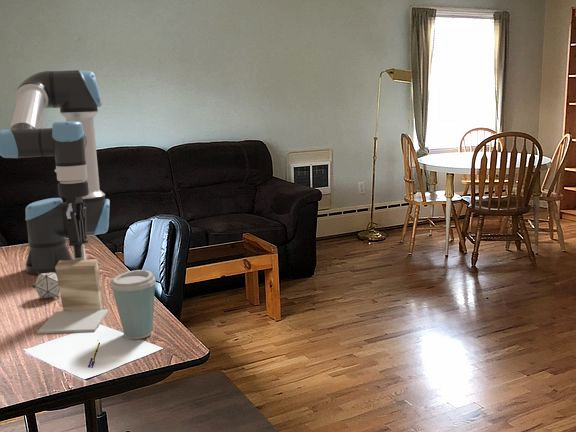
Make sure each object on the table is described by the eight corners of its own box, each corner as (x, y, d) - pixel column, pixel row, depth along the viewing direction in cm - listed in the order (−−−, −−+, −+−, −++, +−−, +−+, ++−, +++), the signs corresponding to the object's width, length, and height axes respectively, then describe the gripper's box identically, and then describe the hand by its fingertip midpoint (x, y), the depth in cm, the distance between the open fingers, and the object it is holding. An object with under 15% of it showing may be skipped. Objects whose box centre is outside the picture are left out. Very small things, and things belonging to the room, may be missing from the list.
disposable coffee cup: (139, 346, 144) (134, 284, 141) (105, 338, 149) (99, 278, 146) (168, 330, 153) (164, 272, 150) (135, 323, 158) (131, 266, 155)
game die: (53, 312, 179) (50, 292, 172) (27, 301, 180) (22, 280, 173) (71, 289, 185) (68, 269, 178) (46, 278, 186) (42, 257, 179)
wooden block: (67, 306, 171) (59, 260, 165) (104, 304, 171) (97, 259, 165) (63, 313, 167) (55, 266, 162) (101, 311, 168) (94, 265, 162)
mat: (55, 313, 167) (55, 311, 167) (108, 311, 167) (108, 309, 167) (37, 333, 153) (37, 331, 153) (94, 331, 154) (94, 329, 154)
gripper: (65, 178, 169) (74, 262, 173) (49, 185, 156) (59, 276, 161) (93, 177, 169) (101, 261, 174) (80, 184, 156) (88, 274, 161)
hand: (81, 268), depth 167 cm, fingers closed
